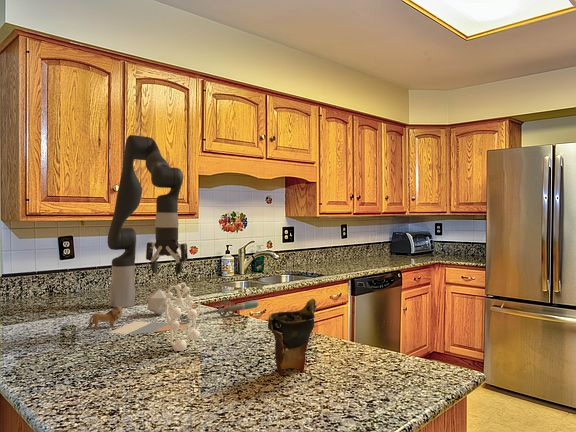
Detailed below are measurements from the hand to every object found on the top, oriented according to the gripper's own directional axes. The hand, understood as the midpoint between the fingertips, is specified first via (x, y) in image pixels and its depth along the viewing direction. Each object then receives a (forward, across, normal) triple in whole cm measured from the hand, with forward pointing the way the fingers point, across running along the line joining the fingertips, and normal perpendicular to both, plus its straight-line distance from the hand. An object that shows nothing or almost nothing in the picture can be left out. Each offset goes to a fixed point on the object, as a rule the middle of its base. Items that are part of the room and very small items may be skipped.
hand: (166, 273), depth 159 cm
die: (+20, -12, +18) cm, 30 cm away
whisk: (+20, +12, +19) cm, 30 cm away
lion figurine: (+20, -21, -4) cm, 29 cm away
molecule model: (+18, +18, -23) cm, 34 cm away
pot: (+18, +52, -36) cm, 66 cm away
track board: (+19, -8, -3) cm, 21 cm away
